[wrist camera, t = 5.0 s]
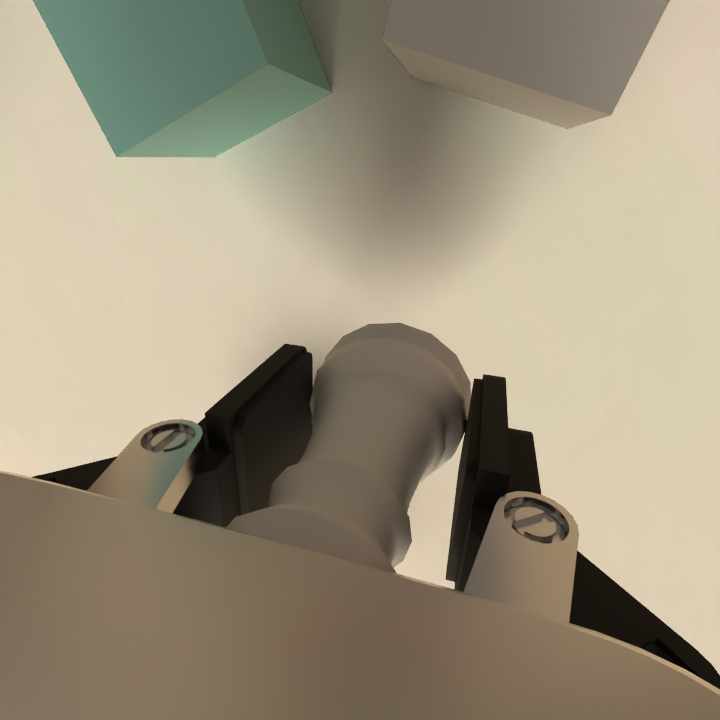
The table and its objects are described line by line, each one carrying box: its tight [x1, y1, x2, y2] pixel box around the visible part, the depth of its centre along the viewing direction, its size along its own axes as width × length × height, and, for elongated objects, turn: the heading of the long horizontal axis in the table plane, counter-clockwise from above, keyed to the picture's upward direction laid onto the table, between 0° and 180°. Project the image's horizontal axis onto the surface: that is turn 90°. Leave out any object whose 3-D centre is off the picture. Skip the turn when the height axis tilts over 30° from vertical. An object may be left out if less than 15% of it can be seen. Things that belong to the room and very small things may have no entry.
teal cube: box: [33, 0, 332, 157], centre depth 12 cm, size 5×5×5 cm
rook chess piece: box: [226, 323, 471, 573], centre depth 9 cm, size 4×4×8 cm
